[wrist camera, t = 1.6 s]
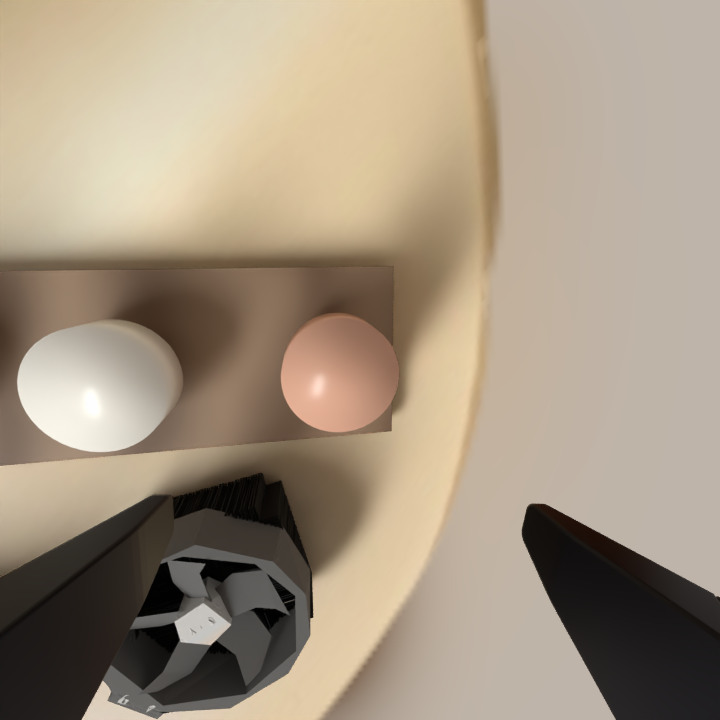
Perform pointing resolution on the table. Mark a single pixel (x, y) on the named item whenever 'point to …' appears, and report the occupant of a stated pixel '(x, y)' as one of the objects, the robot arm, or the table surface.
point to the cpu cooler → (218, 604)
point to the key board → (189, 344)
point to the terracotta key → (339, 373)
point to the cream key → (100, 384)
